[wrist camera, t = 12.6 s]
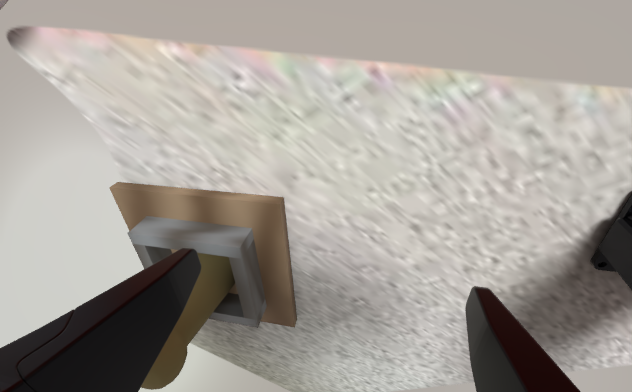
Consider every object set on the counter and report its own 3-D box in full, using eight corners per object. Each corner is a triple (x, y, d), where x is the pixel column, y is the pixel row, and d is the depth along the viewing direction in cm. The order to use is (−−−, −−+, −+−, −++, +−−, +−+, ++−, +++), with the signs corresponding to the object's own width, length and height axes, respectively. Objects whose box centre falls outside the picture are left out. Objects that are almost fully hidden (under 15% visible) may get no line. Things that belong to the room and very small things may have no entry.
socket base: (283, 197, 25) (268, 223, 22) (297, 319, 34) (287, 349, 31) (117, 182, 28) (86, 203, 25) (168, 296, 37) (149, 322, 34)
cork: (194, 230, 28) (98, 341, 19) (250, 264, 29) (184, 386, 20) (175, 264, 31) (86, 372, 22) (226, 293, 32) (160, 409, 23)
